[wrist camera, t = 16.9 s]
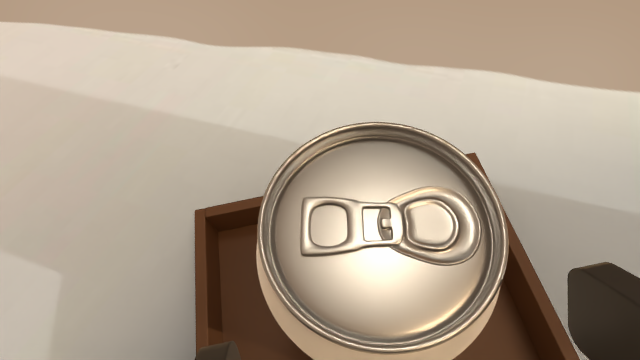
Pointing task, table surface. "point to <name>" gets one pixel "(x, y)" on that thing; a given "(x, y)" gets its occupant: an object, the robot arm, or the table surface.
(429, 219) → the can
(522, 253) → the tray
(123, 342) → the table surface
